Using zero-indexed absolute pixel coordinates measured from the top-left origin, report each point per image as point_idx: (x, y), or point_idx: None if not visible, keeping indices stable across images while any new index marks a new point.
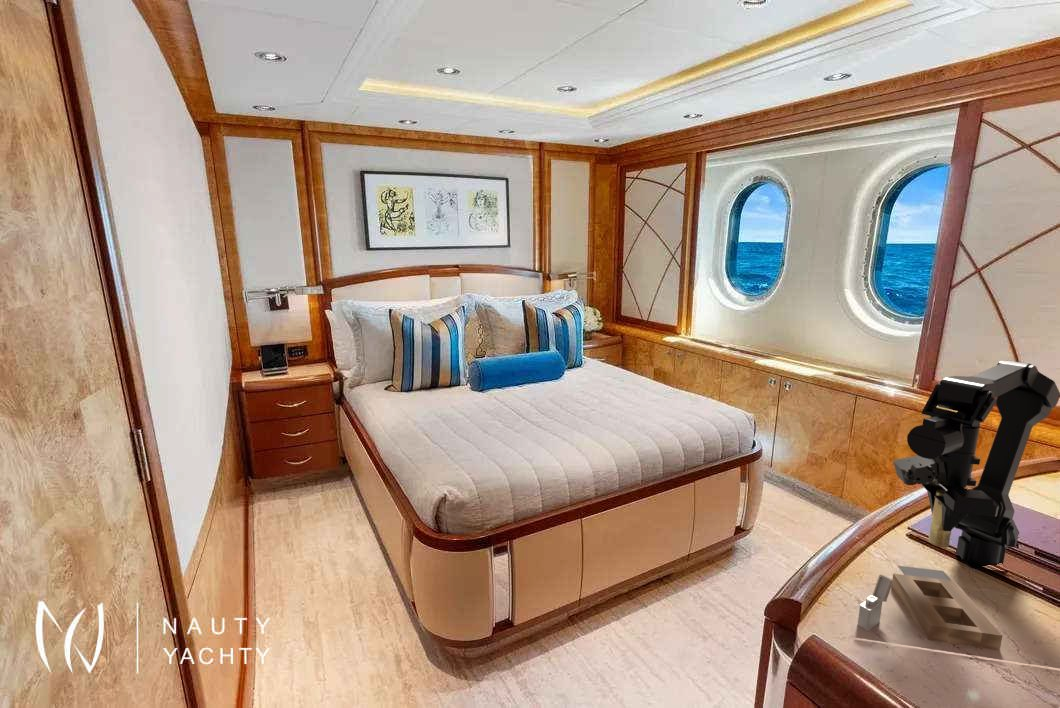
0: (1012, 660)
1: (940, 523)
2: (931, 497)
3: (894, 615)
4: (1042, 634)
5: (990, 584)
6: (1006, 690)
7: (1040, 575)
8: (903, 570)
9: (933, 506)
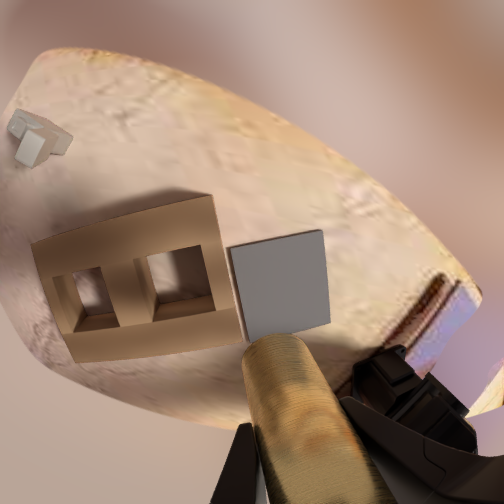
0: None
1: (263, 437)
2: (425, 482)
3: (97, 186)
4: (179, 412)
5: None
6: (17, 317)
7: None
8: (303, 239)
9: (384, 450)
